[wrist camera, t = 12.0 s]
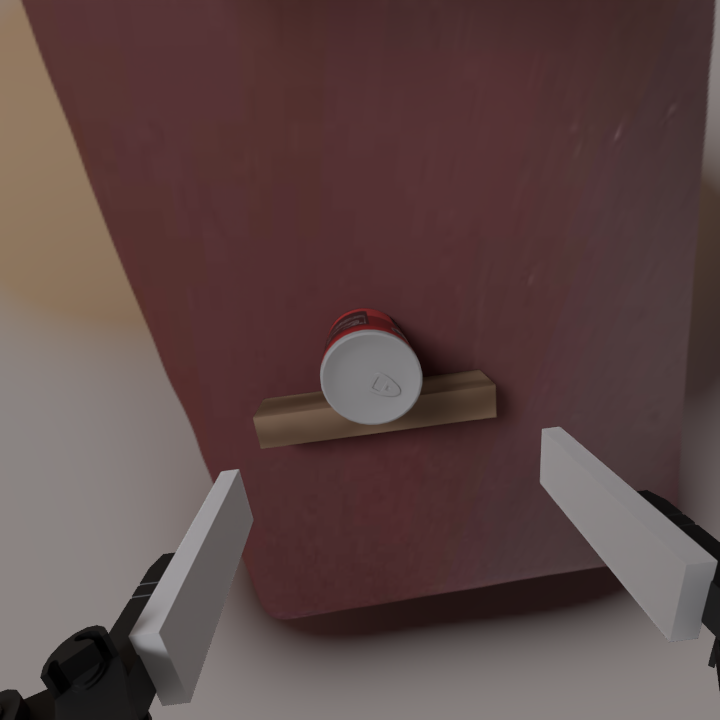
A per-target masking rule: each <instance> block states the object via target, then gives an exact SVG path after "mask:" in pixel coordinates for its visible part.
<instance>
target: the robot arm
mask: <svg viewBox="0 0 720 720" xmlns="http://www.w3.org/2000/svg"><path fill="white" fill-rule="evenodd" d="M540 483H541V485H542V486H543V487H544V488H545V489H546V491H547V492H548V493H549V494H550V496H551V497H552V498H553V499H554V501H555V502H556V503H557V504H558V505H559V507H560V508H561V509H562V510H563V512H564V513H565V514H566V515H567V517H568V518H569V519H570V520H571V521H572V523H573V524H574V525H575V526H576V528H577V529H578V530H579V531H580V533H581V534H582V535H583V536H584V537H585V539H586V540H587V541H588V542H589V544H590V545H591V546H592V547H593V549H594V550H595V551H596V552H597V553H598V555H599V556H600V557H601V558H602V560H603V561H604V562H605V563H606V565H607V566H608V567H609V568H610V569H611V571H612V572H613V573H614V574H615V576H616V577H617V578H618V579H619V580H620V582H621V583H622V584H623V585H624V587H626V589H627V590H628V592H629V593H630V594H631V595H632V596H633V598H634V599H635V600H636V601H637V603H638V604H639V605H640V606H641V608H642V609H643V610H644V611H645V612H646V614H647V615H648V616H649V617H650V618H651V620H652V621H653V622H654V623H655V625H656V626H657V627H658V628H659V630H660V631H661V632H662V633H663V635H664V636H665V637H666V638H667V640H668V641H669V642H674V641H682V640H690V639H698V636H699V633H700V629H701V625H702V623H703V624H704V625H705V626H706V627H707V628H708V629H709V630H710V631H711V632H712V633H713V634H714V635H715V636H716V638H715V641H714V645H713V648H712V652H711V656H710V660H709V664H708V666H710V667H713V668H714V667H715V664H716V667H717V675H718V681H719V690H720V542H718V541H717V540H716V539H715V538H714V537H712V536H711V535H710V534H709V533H707V532H706V531H705V530H704V529H702V528H701V527H700V526H699V525H695V522H694V521H692V520H691V519H690V518H688V517H687V516H686V515H683V514H682V512H681V511H680V510H678V509H677V508H676V507H675V506H673V505H672V504H671V503H670V502H668V501H667V500H666V499H664V498H662V497H660V496H658V495H656V494H654V493H652V492H650V491H648V490H644V491H635V490H634V489H633V488H631V487H630V486H629V485H628V484H627V483H625V482H624V481H623V480H622V479H621V478H620V477H618V476H617V475H616V474H615V473H614V472H613V471H611V470H610V469H609V468H608V467H607V466H605V465H604V464H603V463H602V462H601V461H600V460H598V459H597V458H596V457H595V456H594V455H593V454H591V453H590V452H589V451H588V450H587V449H585V448H584V447H583V446H582V445H581V444H580V443H578V442H577V441H576V440H575V439H574V438H573V437H571V436H570V435H569V434H568V433H567V432H565V431H564V430H563V429H562V428H561V427H554V428H546V429H542V442H541V467H540ZM252 523H253V517H252V513H251V510H250V506H249V503H248V499H247V496H246V492H245V489H244V485H243V482H242V478H241V475H240V471H239V469H237V470H230V471H222V472H221V473H220V475H219V477H218V478H217V480H216V482H215V484H214V486H213V487H212V489H211V491H210V493H209V494H208V496H207V498H206V500H205V502H204V503H203V505H202V507H201V509H200V510H199V512H198V514H197V516H196V518H195V519H194V521H193V523H192V525H191V526H190V528H189V530H188V532H187V533H186V535H185V537H184V539H183V541H182V542H181V544H180V546H179V548H178V549H177V551H176V553H168V554H163V555H162V556H161V557H160V558H159V559H158V560H157V561H156V562H155V563H154V564H153V565H152V566H151V567H150V568H149V569H148V571H147V573H146V574H145V576H144V578H143V579H142V581H141V582H140V586H138V587H137V589H136V590H135V592H134V594H133V595H132V599H130V600H129V602H128V603H127V605H126V607H125V608H124V610H123V611H122V613H121V615H120V617H119V618H118V620H117V621H116V623H115V624H114V626H113V628H112V629H111V631H110V632H109V634H108V632H107V630H106V629H105V628H104V627H102V626H98V625H96V626H91V627H87V628H85V629H83V630H81V631H79V632H77V633H75V634H74V635H72V636H71V637H70V638H68V639H67V640H65V641H64V642H63V643H62V644H61V645H60V646H59V647H58V648H57V649H56V650H55V651H54V652H53V653H52V654H51V656H50V657H49V658H48V660H47V662H46V663H45V665H44V666H43V670H42V673H41V677H40V678H41V679H42V681H43V682H44V684H45V685H46V687H47V688H48V689H47V690H44V691H42V692H40V693H38V694H35V695H33V696H31V697H28V698H26V699H23V698H22V696H21V695H20V694H19V692H18V691H17V690H5V691H2V692H0V720H152V717H151V715H150V713H149V711H148V710H149V707H150V705H151V703H152V701H153V698H154V696H155V694H156V693H157V696H158V697H159V700H160V701H161V704H162V705H163V706H166V705H174V704H182V703H189V702H190V701H191V699H192V696H193V693H194V690H195V687H196V684H197V681H198V678H199V675H200V673H201V670H202V667H203V664H204V661H205V658H206V655H207V652H208V650H209V647H210V644H211V641H212V638H213V635H214V632H215V629H216V626H217V624H218V621H219V618H220V615H221V612H222V609H223V606H224V603H225V600H226V598H227V595H228V592H229V589H230V586H231V583H232V580H233V578H234V574H235V572H236V569H237V566H238V563H239V560H240V557H241V554H242V552H243V549H244V546H245V543H246V540H247V537H248V534H249V531H250V529H251V526H252Z"/></svg>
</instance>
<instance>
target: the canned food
mask: <svg viewBox="0 0 720 720" xmlns="http://www.w3.org/2000/svg"><path fill="white" fill-rule="evenodd" d="M320 379H321V387H322V390H323V394H324V396H325V398H326V399H327V401H328V403H329V404H330V405H331V407H332V408H333V409H334V410H335V411H336V412H338V413H339V414H340V415H341V416H343V417H345V418H347V419H349V420H351V421H354V422H357V423H360V424H367V425H378V424H383V423H388V422H391V421H393V420H396V419H398V418H399V417H401V416H403V415H404V414H405V413H406V412H408V411H409V410H410V409H411V408H412V406H413V405H414V404H415V402H416V401H417V399H418V397H419V394H420V392H421V387H422V371H421V366H420V363H419V360H418V358H417V356H416V354H415V352H414V350H413V349H412V347H411V346H410V344H409V343H408V341H407V339H406V338H405V336H404V335H403V333H402V332H401V330H400V329H399V327H398V326H397V325H396V323H395V322H394V321H393V320H392V319H391V318H390V317H389V316H387V315H386V314H384V313H382V312H380V311H377V310H374V309H368V308H365V309H356V310H352V311H349V312H347V313H345V314H344V315H342V316H341V317H339V318H338V319H337V320H336V322H335V323H334V324H333V326H332V327H331V329H330V332H329V335H328V339H327V343H326V347H325V351H324V355H323V359H322V364H321V371H320Z"/></svg>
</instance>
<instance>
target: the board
mask: <svg viewBox="0 0 720 720" xmlns="http://www.w3.org/2000/svg"><path fill="white" fill-rule="evenodd" d="M492 417H496V385H495V384H494V383H493V382H492V381H491V380H490V379H489V378H488V377H487V376H486V375H484V374H483V373H482V372H481V371H480V370H473V371H465V372H458V373H451V374H443V375H436V376H429V377H422V387H421V392H420V394H419V397H418V399H417V401H416V402H415V404H414V405H413V406H412V408H411V409H410V410H409V411H408V412H406V413H405V414H404V415H403V416H401V417H399V418H398V419H396V420H393V421H391V422H388V423H383V424H378V425H367V424H360V423H357V422H354V421H351V420H349V419H347V418H345V417H343V416H341V415H340V414H339V413H338V412H336V411H335V410H334V409H333V408H332V407H331V405H330V404H329V403H328V401H327V399H326V398H325V396H324V394H323V391H319V392H312V393H305V394H297V395H290V396H283V397H276V398H268V399H264V400H263V401H262V403H261V405H260V407H259V408H258V410H257V412H256V414H255V416H254V417H253V420H254V424H255V428H256V431H257V435H258V439H259V443H260V447H261V449H263V448H271V447H278V446H286V445H293V444H300V443H308V442H315V441H323V440H330V439H337V438H345V437H352V436H359V435H367V434H374V433H382V432H389V431H396V430H404V429H411V428H419V427H426V426H433V425H441V424H448V423H455V422H463V421H470V420H478V419H485V418H492Z"/></svg>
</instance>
